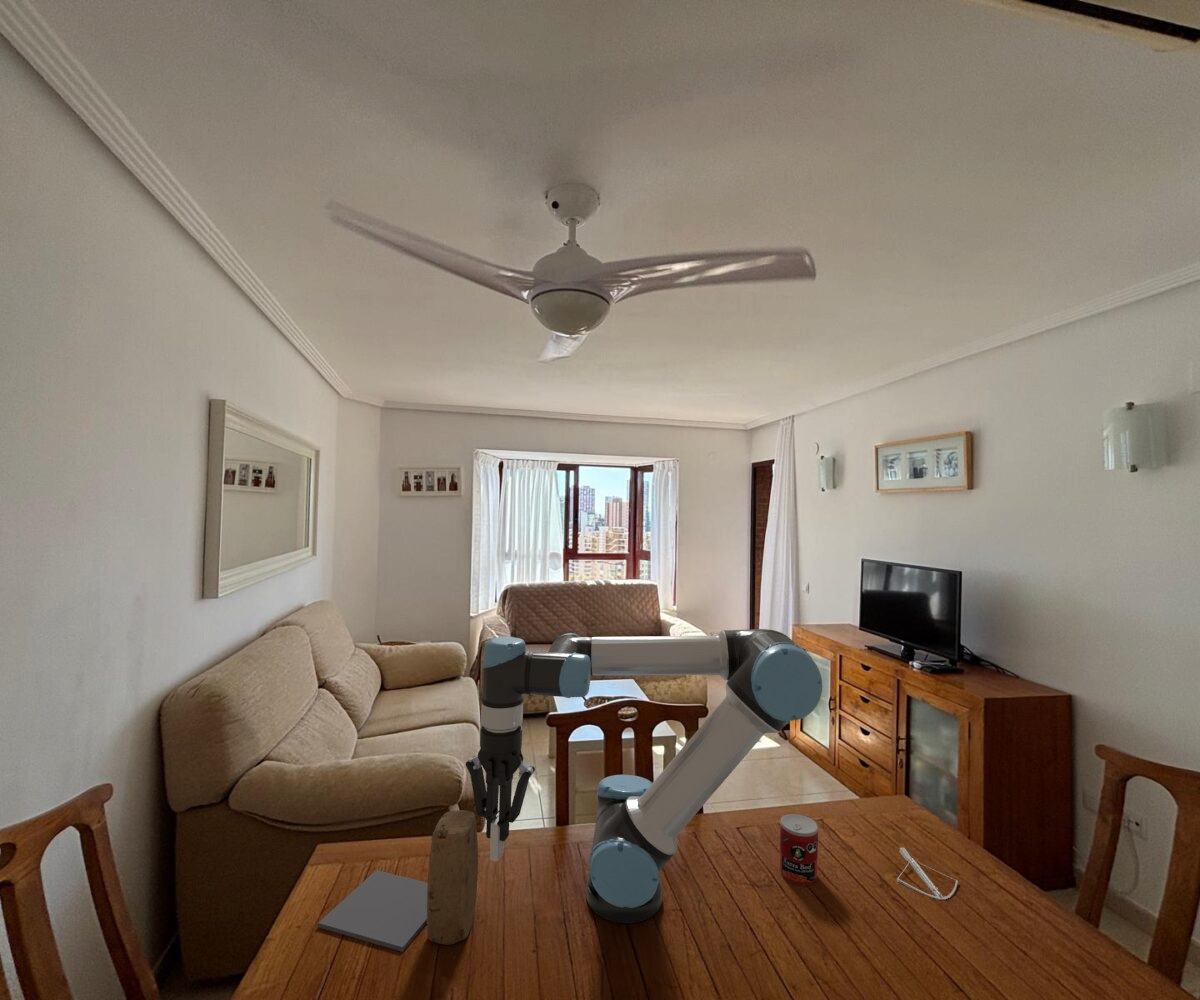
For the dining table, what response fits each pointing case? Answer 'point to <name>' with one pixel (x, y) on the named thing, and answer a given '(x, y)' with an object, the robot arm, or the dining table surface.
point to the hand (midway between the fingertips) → (496, 856)
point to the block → (452, 877)
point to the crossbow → (923, 878)
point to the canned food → (798, 849)
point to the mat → (381, 911)
